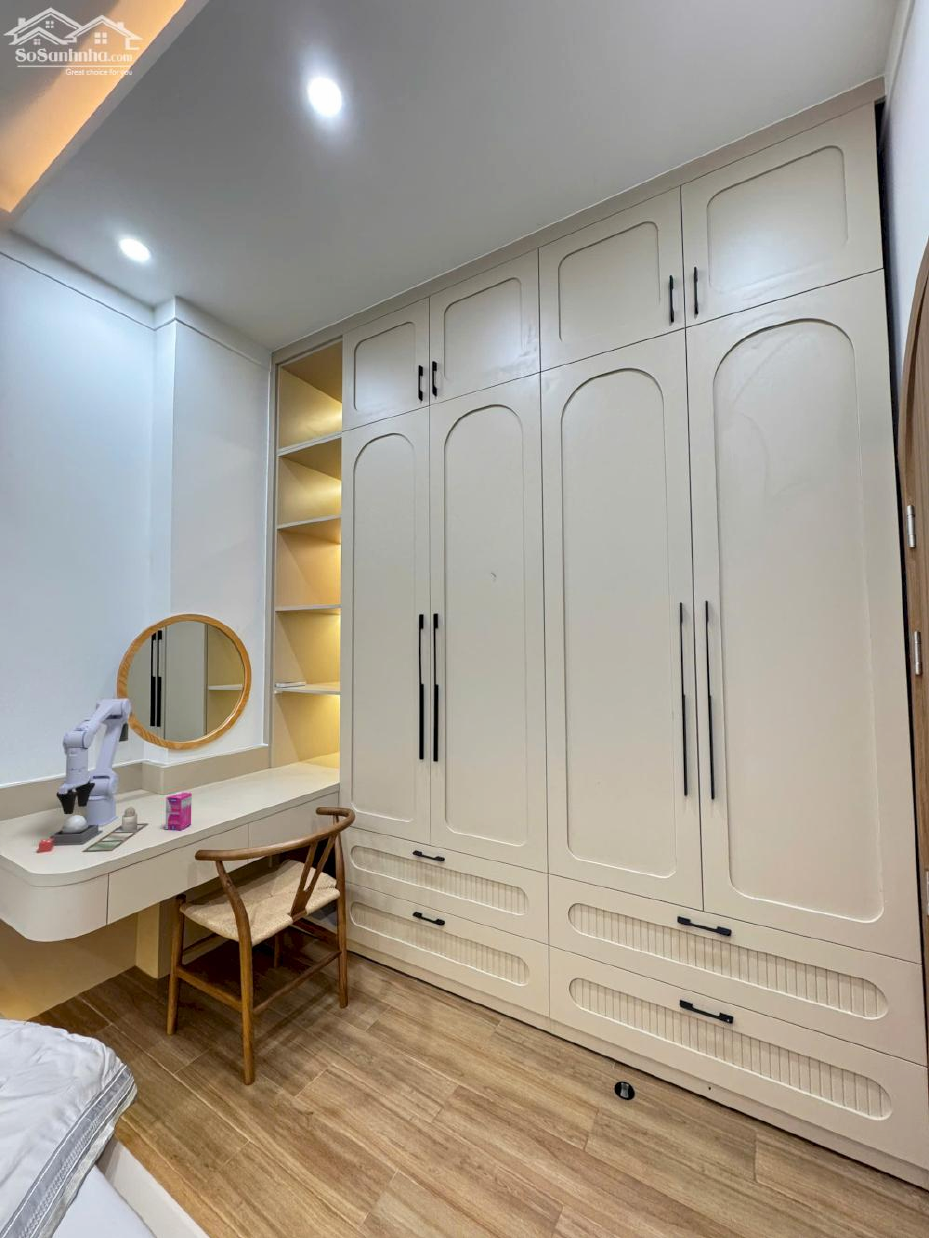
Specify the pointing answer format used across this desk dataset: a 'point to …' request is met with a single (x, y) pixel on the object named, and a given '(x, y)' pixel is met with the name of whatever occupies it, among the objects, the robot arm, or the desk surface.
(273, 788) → the desk surface
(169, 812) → the supplement box
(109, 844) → the compartment tray
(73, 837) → the popper base
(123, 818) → the pawn
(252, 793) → the desk surface
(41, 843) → the red die
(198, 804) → the desk surface
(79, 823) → the dome
